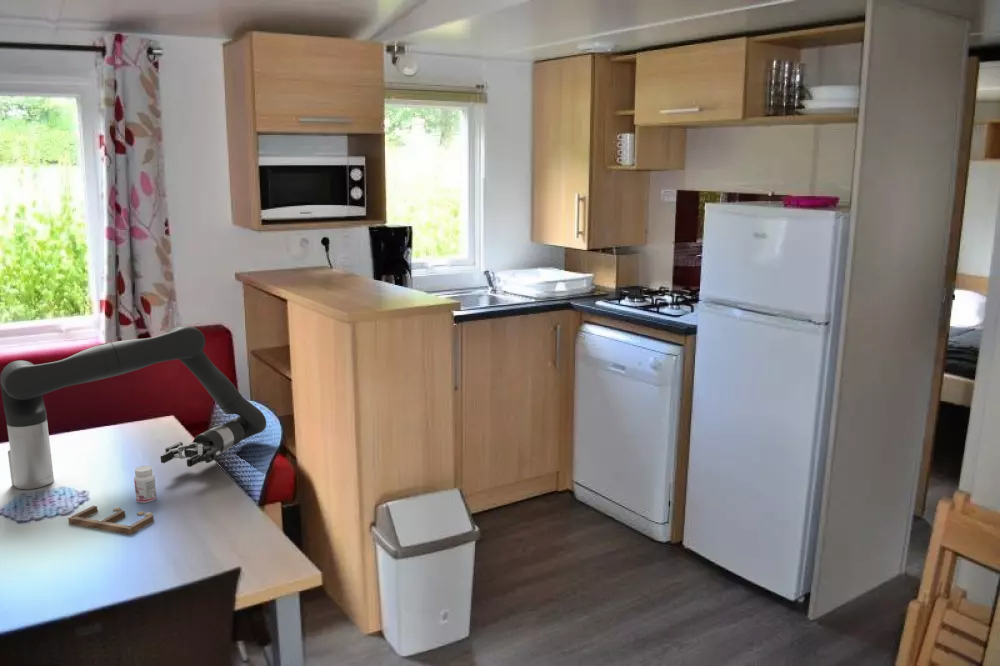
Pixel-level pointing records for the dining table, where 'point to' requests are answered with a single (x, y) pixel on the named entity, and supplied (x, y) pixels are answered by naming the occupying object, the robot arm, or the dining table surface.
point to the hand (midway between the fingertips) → (174, 461)
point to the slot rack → (110, 521)
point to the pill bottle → (144, 484)
